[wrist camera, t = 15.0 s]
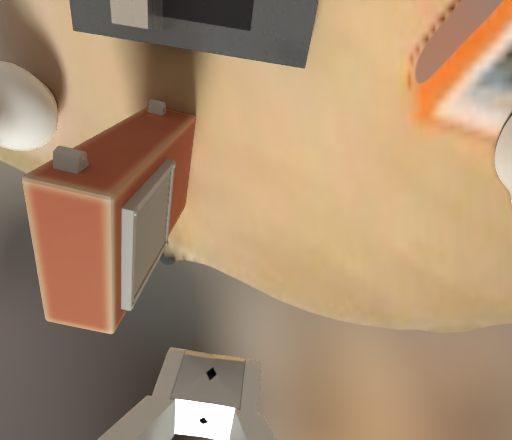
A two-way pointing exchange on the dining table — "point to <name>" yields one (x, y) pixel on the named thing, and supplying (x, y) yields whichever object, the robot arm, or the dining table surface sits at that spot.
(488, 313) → the dining table surface
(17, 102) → the flower vase
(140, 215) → the orange retro radio
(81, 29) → the box
